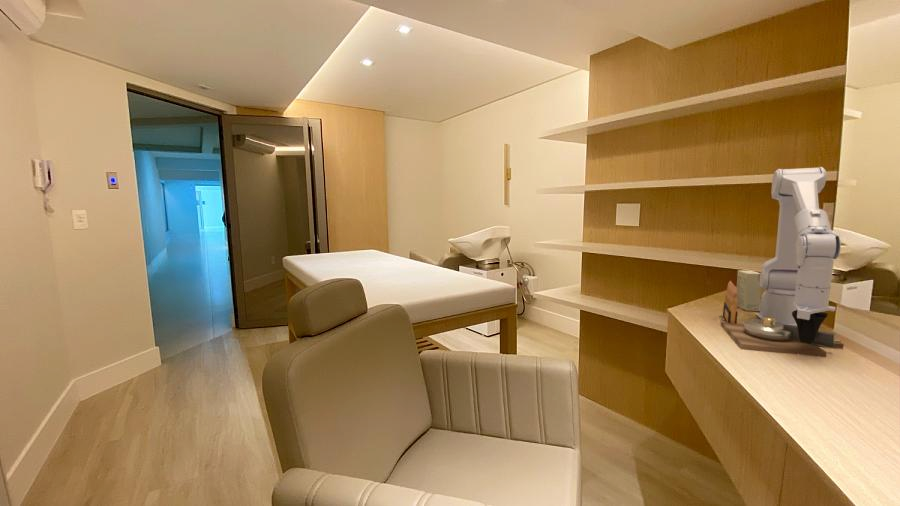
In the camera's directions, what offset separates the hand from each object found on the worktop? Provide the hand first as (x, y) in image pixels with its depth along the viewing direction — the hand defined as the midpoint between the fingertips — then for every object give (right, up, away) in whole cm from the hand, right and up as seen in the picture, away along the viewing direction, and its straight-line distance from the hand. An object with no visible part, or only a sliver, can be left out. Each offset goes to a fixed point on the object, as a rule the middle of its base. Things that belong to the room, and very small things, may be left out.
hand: (806, 342), depth 89 cm
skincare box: (+13, +3, +35) cm, 38 cm away
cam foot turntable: (+1, 0, +6) cm, 6 cm away
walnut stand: (+1, -2, +8) cm, 8 cm away
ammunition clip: (-1, 0, +23) cm, 23 cm away
